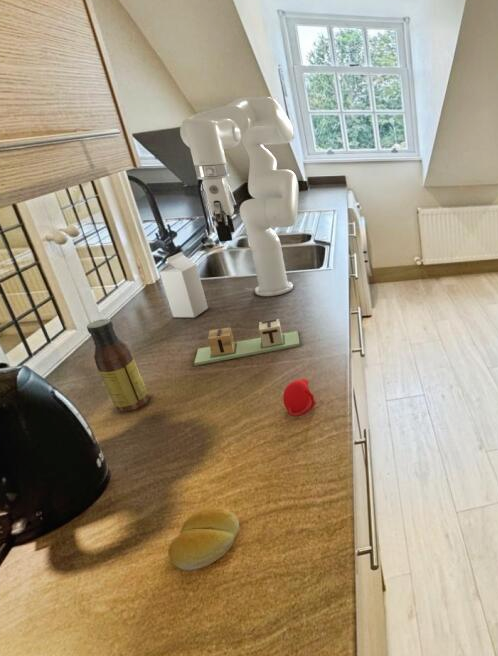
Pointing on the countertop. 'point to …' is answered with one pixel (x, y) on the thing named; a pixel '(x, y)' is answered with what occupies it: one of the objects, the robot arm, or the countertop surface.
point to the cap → (298, 398)
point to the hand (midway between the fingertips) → (227, 236)
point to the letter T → (270, 332)
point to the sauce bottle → (117, 367)
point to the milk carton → (183, 286)
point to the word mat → (247, 349)
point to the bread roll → (204, 538)
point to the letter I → (221, 341)
